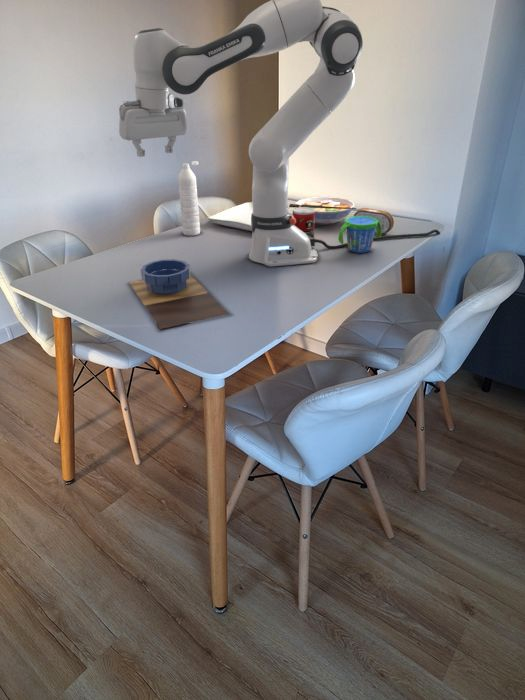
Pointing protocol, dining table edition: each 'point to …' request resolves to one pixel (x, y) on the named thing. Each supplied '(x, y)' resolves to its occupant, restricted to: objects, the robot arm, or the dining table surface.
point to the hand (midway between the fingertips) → (155, 154)
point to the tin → (378, 218)
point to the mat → (185, 310)
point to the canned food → (305, 219)
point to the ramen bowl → (327, 208)
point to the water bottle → (189, 200)
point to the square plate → (236, 216)
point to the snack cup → (360, 233)
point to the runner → (152, 298)
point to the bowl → (166, 276)
